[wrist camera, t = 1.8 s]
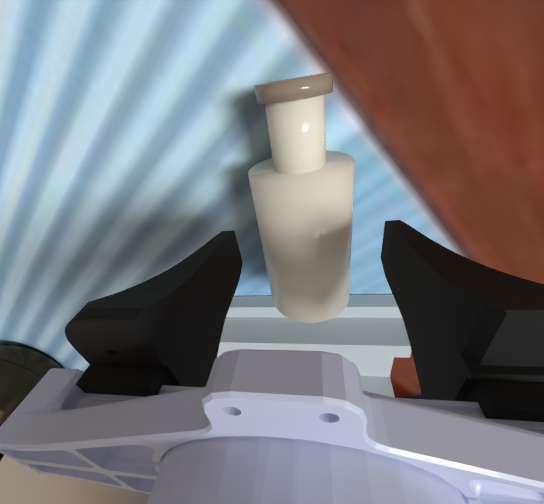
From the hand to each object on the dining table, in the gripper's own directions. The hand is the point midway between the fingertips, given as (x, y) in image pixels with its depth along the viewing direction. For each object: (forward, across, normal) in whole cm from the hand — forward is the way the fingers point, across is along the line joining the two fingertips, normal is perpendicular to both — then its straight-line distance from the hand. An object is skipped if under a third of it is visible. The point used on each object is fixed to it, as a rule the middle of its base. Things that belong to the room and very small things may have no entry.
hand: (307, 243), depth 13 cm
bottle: (+4, 0, -1) cm, 4 cm away
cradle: (+4, +2, +13) cm, 13 cm away
